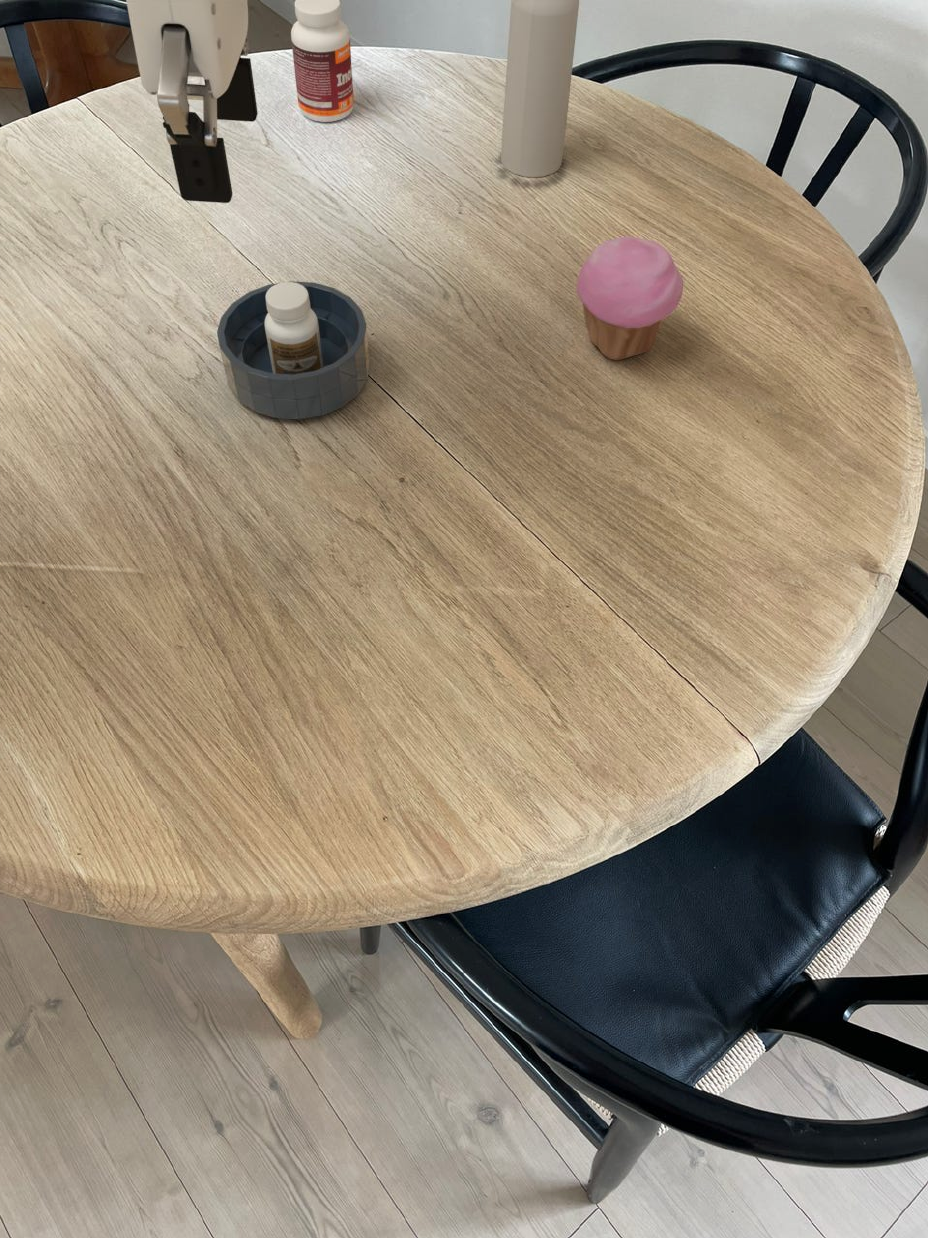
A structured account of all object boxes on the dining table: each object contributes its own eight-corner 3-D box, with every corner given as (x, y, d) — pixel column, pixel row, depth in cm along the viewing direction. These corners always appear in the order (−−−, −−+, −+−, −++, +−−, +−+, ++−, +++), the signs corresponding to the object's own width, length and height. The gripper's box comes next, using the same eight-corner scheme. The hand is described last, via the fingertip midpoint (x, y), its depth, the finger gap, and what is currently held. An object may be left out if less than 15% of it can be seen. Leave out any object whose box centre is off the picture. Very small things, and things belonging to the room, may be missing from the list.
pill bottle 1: (350, 125, 107) (342, 18, 98) (294, 122, 107) (282, 14, 98) (357, 96, 111) (351, -11, 101) (303, 92, 111) (292, -14, 102)
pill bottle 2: (277, 390, 83) (264, 316, 76) (268, 357, 85) (255, 282, 79) (328, 381, 84) (319, 307, 77) (318, 348, 86) (308, 273, 79)
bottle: (515, 136, 107) (538, -180, 84) (571, 152, 105) (610, -165, 82) (490, 166, 103) (506, -155, 80) (547, 183, 102) (581, -139, 79)
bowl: (216, 420, 81) (204, 374, 77) (241, 324, 88) (232, 277, 84) (361, 428, 81) (357, 382, 77) (375, 331, 88) (372, 285, 84)
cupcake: (685, 357, 87) (711, 261, 79) (607, 391, 85) (626, 295, 76) (625, 301, 91) (644, 204, 83) (549, 332, 89) (561, 235, 80)
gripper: (134, -217, 56) (191, 87, 70) (48, -96, 46) (135, 230, 60) (265, -209, 56) (296, 94, 70) (208, -85, 46) (256, 238, 60)
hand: (221, 156), depth 65 cm, fingers open, 9 cm apart
